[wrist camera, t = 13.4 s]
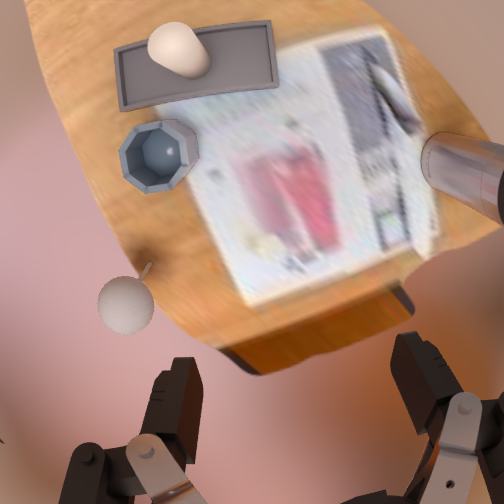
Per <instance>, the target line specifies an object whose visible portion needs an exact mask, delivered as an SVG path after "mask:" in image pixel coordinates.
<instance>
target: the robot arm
mask: <svg viewBox="0 0 504 504" xmlns="http://www.w3.org/2000/svg"><path fill="white" fill-rule="evenodd" d="M421 166H422V171H423V175H424V177H425V179H426V181H427V182H428V183H429V184H430V185H431V186H432V187H433V188H435V189H437V190H439V191H441V192H443V193H445V194H447V195H448V196H450V197H452V198H454V199H456V200H458V201H460V202H461V203H463V204H465V205H467V206H469V207H470V208H472V209H474V210H476V211H478V212H479V213H481V214H483V215H484V216H486V217H488V218H490V219H491V220H493V221H495V222H496V223H498V224H500V225H501V226H503V227H504V145H500V144H497V143H493V142H489V141H485V140H480V139H476V138H471V137H467V136H463V135H458V134H453V133H447V132H441V133H437V134H435V135H433V136H432V137H431V138H430V139H429V140H428V141H427V143H426V145H425V147H424V149H423V152H422V158H421ZM390 368H391V373H392V376H393V378H394V380H395V382H396V385H397V387H398V389H399V392H400V394H401V396H402V398H403V401H404V403H405V405H406V407H407V410H408V413H409V415H410V417H411V420H412V422H413V425H414V427H415V429H416V432H417V434H418V435H421V434H424V433H428V435H429V439H428V440H427V443H426V446H425V449H424V451H423V454H422V457H421V460H420V462H419V465H418V467H417V469H416V472H415V474H414V477H413V479H412V481H411V482H410V484H409V486H408V487H407V489H406V491H405V493H404V495H403V496H394V495H387V493H386V490H382V491H378V492H374V493H370V494H366V495H362V496H357V497H355V498H353V499H350V500H348V501H346V502H343V503H341V504H465V503H466V500H467V497H468V494H469V491H470V487H471V484H472V480H473V476H474V473H475V469H476V465H477V461H478V463H479V465H480V469H481V471H482V474H483V477H484V479H485V483H486V486H487V489H488V492H489V495H490V499H491V502H492V504H504V392H503V393H502V394H501V395H500V397H499V398H498V399H494V400H479V399H478V397H476V396H475V395H474V394H471V393H468V392H464V391H463V389H462V388H461V386H460V384H459V382H458V381H457V379H456V377H455V376H454V374H453V373H452V371H451V369H450V368H449V366H448V365H447V363H446V361H445V360H444V358H442V355H441V354H440V352H439V350H438V349H437V347H435V346H434V345H433V344H431V343H430V342H429V341H422V339H421V338H420V336H419V335H418V333H417V332H416V331H411V332H406V333H401V334H398V335H397V336H396V340H395V345H394V349H393V353H392V357H391V361H390ZM202 403H203V384H202V381H201V377H200V374H199V371H198V368H197V365H196V362H195V359H194V357H176V358H174V360H173V362H172V366H171V370H169V371H162V372H161V373H160V374H159V376H158V377H157V378H156V379H155V382H154V385H153V388H152V393H151V395H150V401H149V403H148V406H147V409H146V413H145V417H144V421H143V424H142V428H141V431H140V434H139V435H138V436H136V437H134V438H133V439H132V440H131V441H130V442H129V443H128V445H126V446H123V447H118V448H112V449H105V450H103V449H102V448H101V447H100V446H99V445H98V444H96V443H92V442H87V443H83V444H81V445H79V446H78V447H77V448H76V449H75V450H74V452H73V453H72V457H71V460H70V463H69V467H68V470H67V473H66V477H65V481H64V484H63V488H62V492H61V496H60V500H59V504H134V500H135V495H142V494H148V495H149V497H150V498H151V501H152V503H151V504H208V503H207V502H206V501H205V499H204V498H203V497H202V496H201V494H200V493H199V492H198V491H197V489H196V488H195V487H194V486H193V484H192V483H191V481H190V480H189V479H188V477H187V476H186V475H185V468H186V464H195V458H196V449H197V441H198V433H199V426H200V418H201V410H202ZM474 452H475V454H474Z"/></svg>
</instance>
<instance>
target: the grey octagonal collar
mask: <svg viewBox="0 0 504 504" xmlns="http://www.w3.org/2000/svg"><path fill="white" fill-rule="evenodd" d="M119 155H120V161H121V167H122V172H123V177H124V178H125V179H126V180H127V181H129V182H130V183H131V184H133V185H134V186H135V187H137V188H138V189H139V190H141V191H142V192H144V193H145V194H148V193H154V192H161V191H167V190H173V189H174V188H175V187H176V186H177V185H178V184H179V183H180V182H181V181H182V180H183V179H184V178H185V176H186V175H187V174H188V172H189V171H190V170H191V168H192V167H193V166H194V164H195V163H196V162H197V160H198V159H199V153H198V146H197V139H196V133H194V132H193V131H191V130H190V129H189V128H187V127H186V126H184V125H183V124H182V123H180V122H179V121H177V120H161V121H156V122H151V123H147V124H142V125H138V126H134V127H133V128H132V130H131V132H130V133H129V135H128V136H127V138H126V139H125V141H124V143H123V144H122V146H121V147H120V149H119Z"/></svg>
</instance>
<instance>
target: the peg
mask: <svg viewBox="0 0 504 504" xmlns="http://www.w3.org/2000/svg"><path fill="white" fill-rule="evenodd" d="M147 48H148V53H149V55H150V57H151V58H152V59H153V60H154V61H155V62H157V63H159V64H160V65H162V66H164V67H166V68H168V69H170V70H171V71H173V72H175V73H177V74H179V75H180V76H182V77H184V78H186V79H190V80H195V79H199V78H201V77H203V76H205V75H206V74H207V73H208V71H209V70H210V67H211V58H210V56H209V54H208V53H207V51H206V50H205V48H204V47H203V45H202V44H201V42H200V41H199V39H198V38H197V36H196V35H195V34H194V32H193V31H192V29H191V28H190V27H189V26H187V25H186V24H183V23H180V22H170V23H166V24H164V25H162V26H160V27H158V28H157V29H156V30H155V31H154V32H153V33H152V34H151V36H150V38H149V41H148V46H147Z"/></svg>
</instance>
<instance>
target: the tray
mask: <svg viewBox="0 0 504 504" xmlns="http://www.w3.org/2000/svg"><path fill="white" fill-rule="evenodd" d="M192 31H193V32H194V34H195V35H196V36H197V38H198V39H199V41H200V42H201V44H202V45H203V47H204V48H205V50H206V51H207V53H208V54H209V56H210V58H211V67H210V70H209V71H208V73H207V74H206V75H205V76H203V77H201V78H199V79H195V80H190V79H186V78H184V77H182V76H180V75H179V74H177V73H175V72H173V71H171V70H170V69H168V68H166V67H164V66H162V65H160V64H159V63H157V62H155V61H154V60H153V59H152V58H151V57H150V55H149V53H148V48H147V46H148V41H149V39H147V40H143V41H139V42H136V43H132V44H129V45H125V46H122V47H119V48H116V49H114V62H115V73H116V83H117V92H118V100H119V108H120V112H129V111H133V110H137V109H141V108H145V107H150V106H154V105H159V104H163V103H168V102H173V101H179V100H184V99H190V98H196V97H202V96H208V95H215V94H223V93H230V92H239V91H248V90H259V89H271V88H278V87H279V82H278V73H277V64H276V56H275V48H274V40H273V32H272V25H271V20H264V21H251V22H240V23H231V24H223V25H216V26H209V27H203V28H197V29H192Z"/></svg>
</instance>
